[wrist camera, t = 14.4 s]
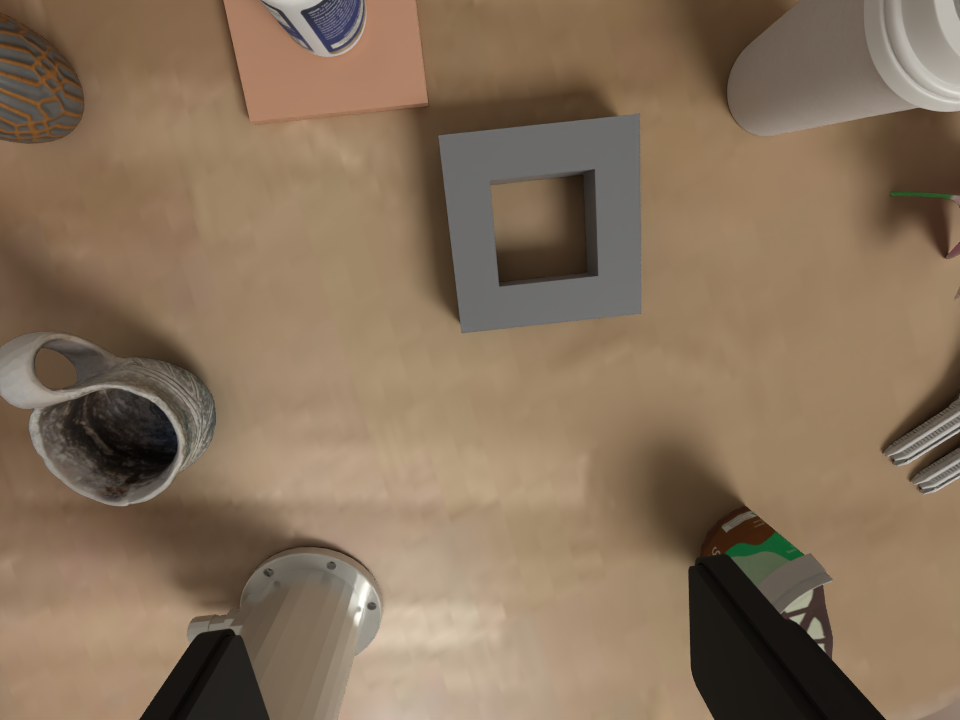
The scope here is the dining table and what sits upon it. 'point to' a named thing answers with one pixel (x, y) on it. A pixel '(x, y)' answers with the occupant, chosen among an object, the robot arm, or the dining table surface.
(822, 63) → the coffee cup
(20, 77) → the vase
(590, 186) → the bottle holder
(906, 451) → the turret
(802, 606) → the food container
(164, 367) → the mug
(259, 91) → the terracotta tile
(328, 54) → the pill bottle
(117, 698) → the dining table surface
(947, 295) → the dining table surface
